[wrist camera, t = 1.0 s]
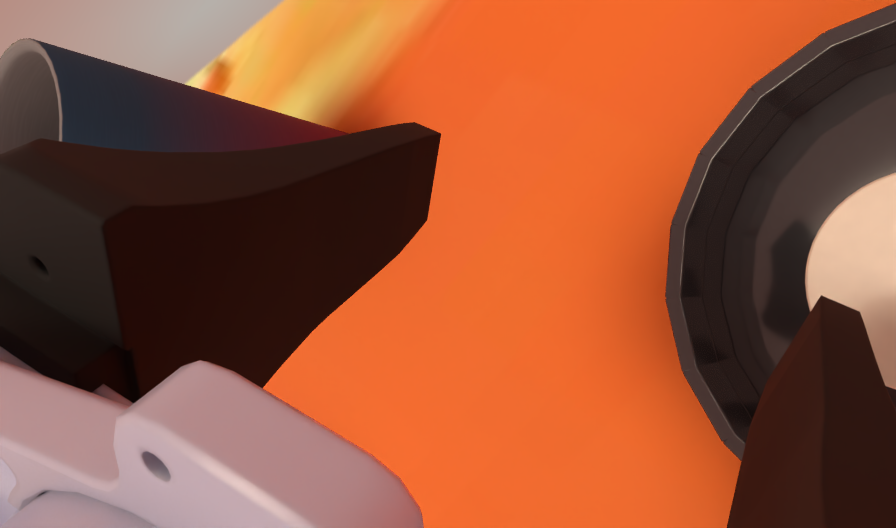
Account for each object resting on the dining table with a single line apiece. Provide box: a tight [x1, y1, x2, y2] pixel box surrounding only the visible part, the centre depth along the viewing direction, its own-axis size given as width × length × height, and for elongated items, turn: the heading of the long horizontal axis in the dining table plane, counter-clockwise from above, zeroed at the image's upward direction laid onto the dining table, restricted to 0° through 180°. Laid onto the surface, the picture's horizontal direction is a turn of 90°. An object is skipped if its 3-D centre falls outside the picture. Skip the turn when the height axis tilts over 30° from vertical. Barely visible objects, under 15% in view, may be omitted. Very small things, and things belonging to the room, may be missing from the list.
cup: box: [0, 39, 348, 154], centre depth 31 cm, size 7×7×15 cm
